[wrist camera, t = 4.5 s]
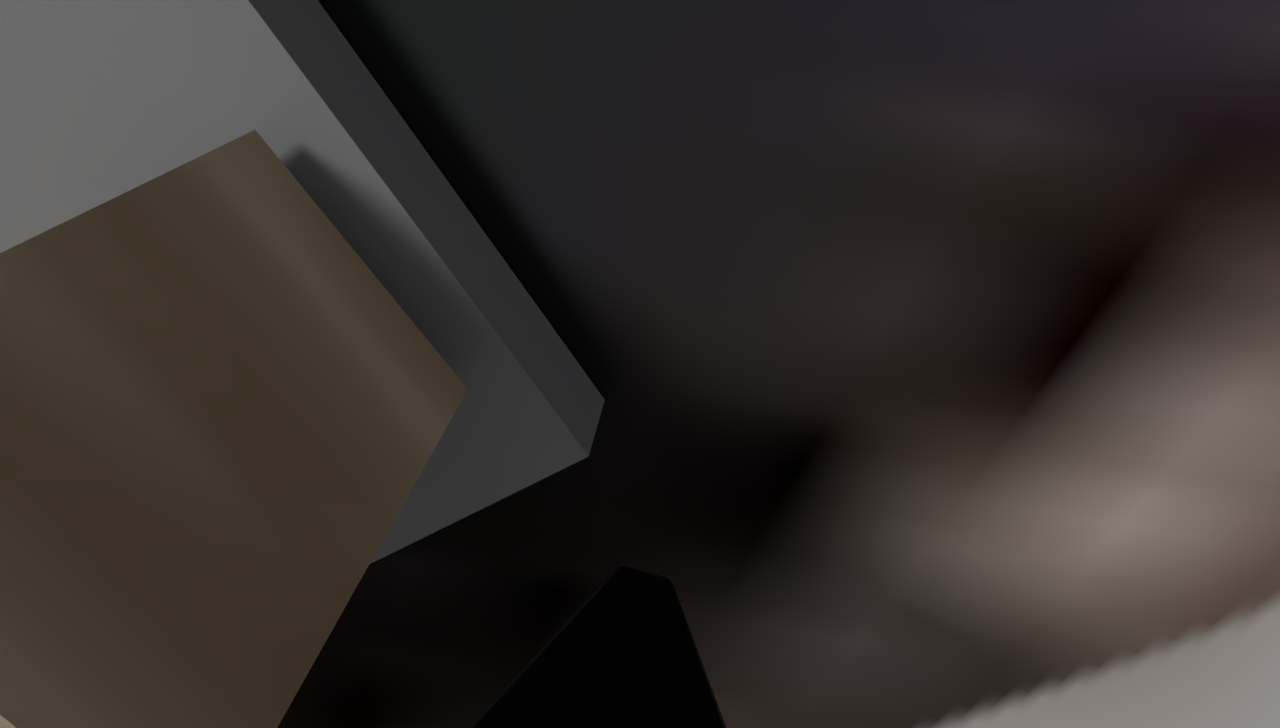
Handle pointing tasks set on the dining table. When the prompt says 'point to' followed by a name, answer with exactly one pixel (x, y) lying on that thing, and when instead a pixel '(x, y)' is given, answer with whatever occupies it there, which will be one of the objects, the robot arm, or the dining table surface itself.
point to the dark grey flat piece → (327, 170)
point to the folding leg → (196, 447)
